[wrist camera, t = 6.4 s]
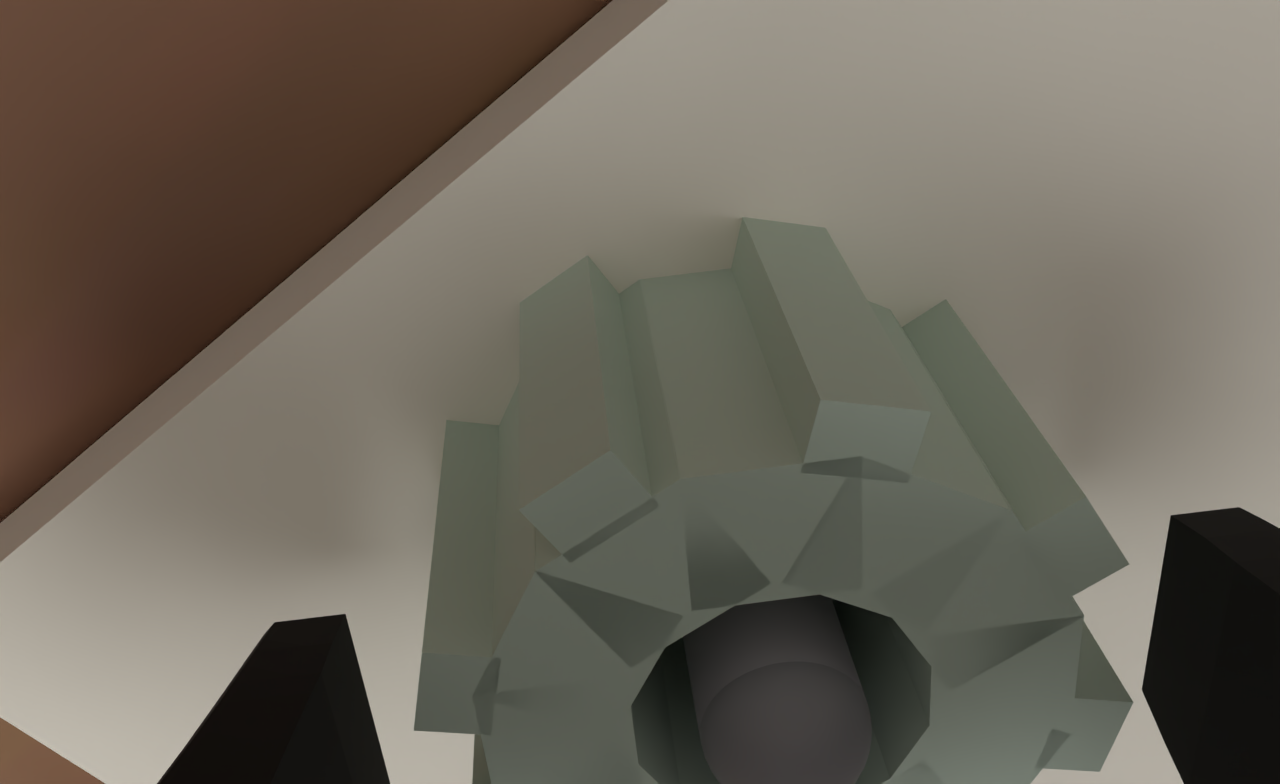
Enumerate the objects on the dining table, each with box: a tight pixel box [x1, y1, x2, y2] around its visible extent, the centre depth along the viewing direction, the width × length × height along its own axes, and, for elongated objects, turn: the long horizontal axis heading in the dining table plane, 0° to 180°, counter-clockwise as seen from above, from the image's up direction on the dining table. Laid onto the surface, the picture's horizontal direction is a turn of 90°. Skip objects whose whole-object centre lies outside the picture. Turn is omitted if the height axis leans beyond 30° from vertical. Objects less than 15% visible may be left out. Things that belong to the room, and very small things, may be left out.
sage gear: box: [414, 217, 1133, 784], centre depth 11 cm, size 6×6×3 cm
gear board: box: [0, 0, 1280, 784], centre depth 13 cm, size 14×17×6 cm
